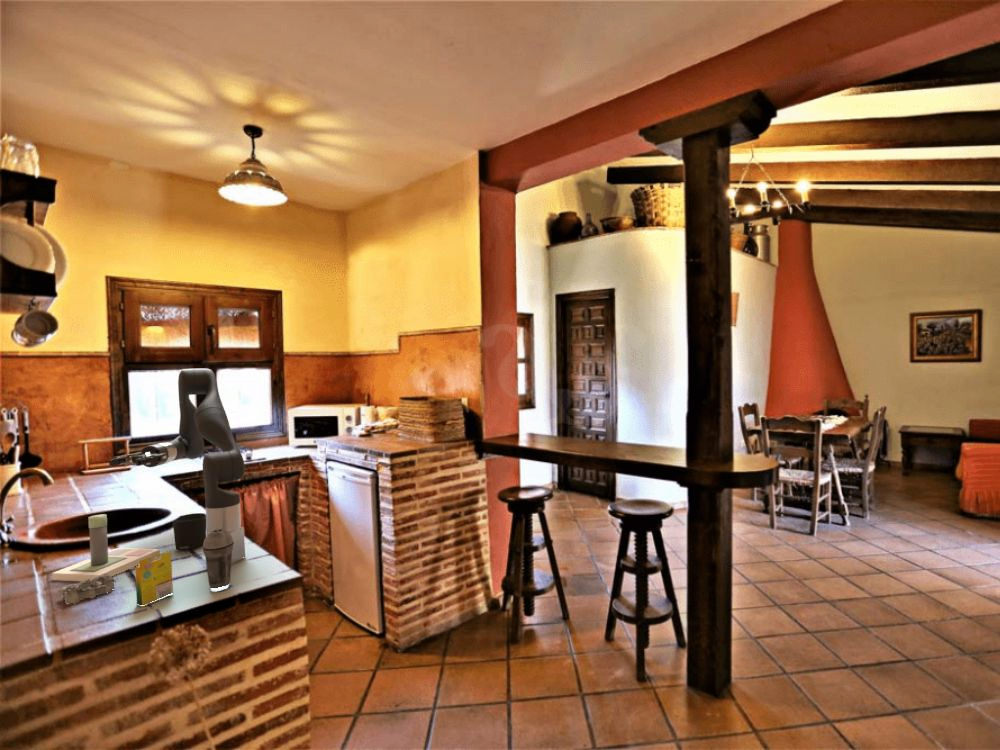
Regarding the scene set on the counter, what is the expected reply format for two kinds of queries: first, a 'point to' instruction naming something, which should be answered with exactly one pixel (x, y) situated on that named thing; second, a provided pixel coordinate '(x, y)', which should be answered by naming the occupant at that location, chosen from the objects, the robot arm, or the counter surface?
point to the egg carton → (87, 588)
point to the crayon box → (154, 578)
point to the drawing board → (116, 564)
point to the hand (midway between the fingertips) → (123, 463)
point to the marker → (98, 539)
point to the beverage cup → (218, 556)
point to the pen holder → (190, 531)
